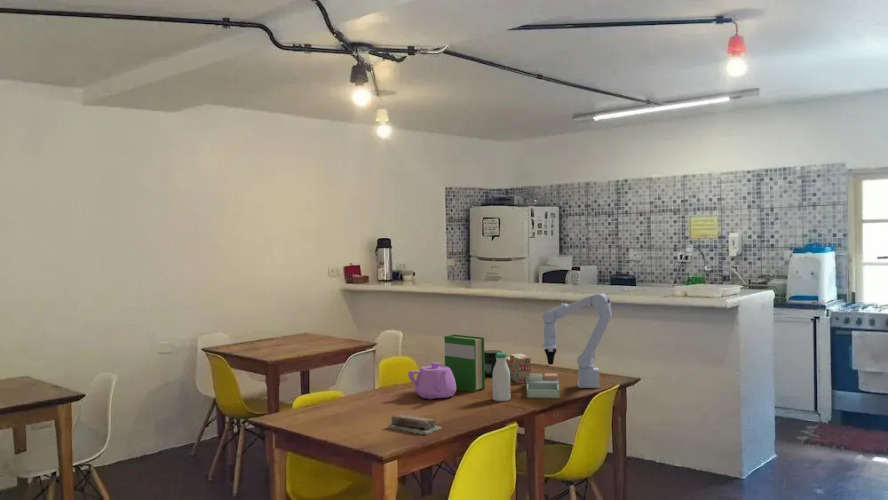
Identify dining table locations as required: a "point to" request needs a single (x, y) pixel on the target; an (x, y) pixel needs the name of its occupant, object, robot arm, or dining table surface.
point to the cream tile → (535, 376)
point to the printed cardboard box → (519, 367)
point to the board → (542, 384)
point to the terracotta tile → (551, 376)
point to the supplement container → (490, 361)
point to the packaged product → (413, 424)
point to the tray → (543, 393)
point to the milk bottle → (501, 379)
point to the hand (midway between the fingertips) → (550, 364)
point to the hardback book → (466, 361)
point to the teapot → (434, 381)
